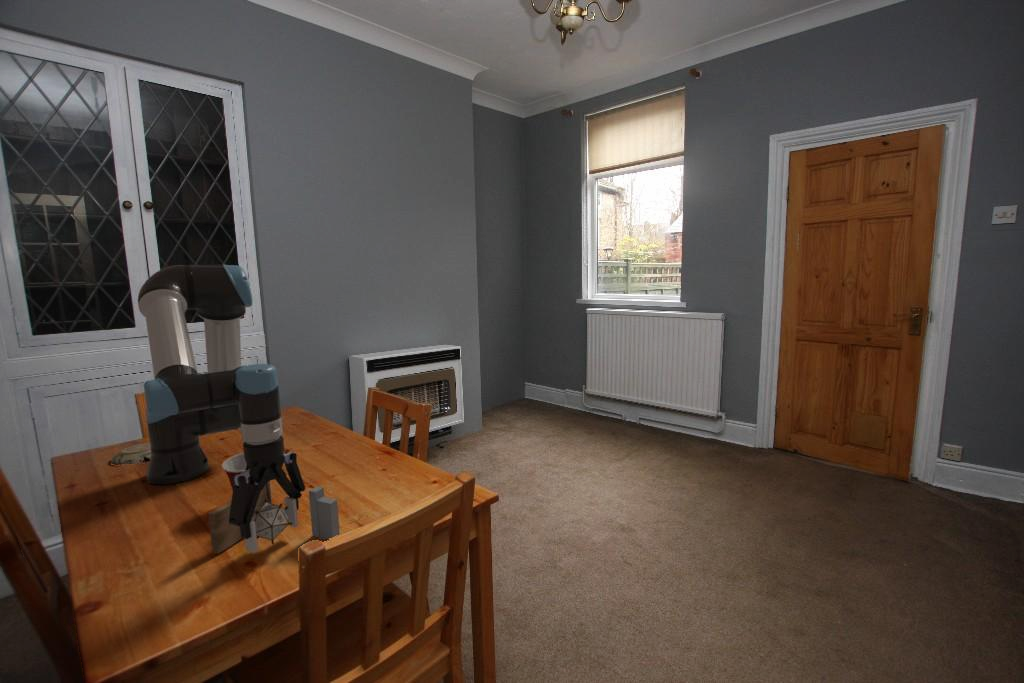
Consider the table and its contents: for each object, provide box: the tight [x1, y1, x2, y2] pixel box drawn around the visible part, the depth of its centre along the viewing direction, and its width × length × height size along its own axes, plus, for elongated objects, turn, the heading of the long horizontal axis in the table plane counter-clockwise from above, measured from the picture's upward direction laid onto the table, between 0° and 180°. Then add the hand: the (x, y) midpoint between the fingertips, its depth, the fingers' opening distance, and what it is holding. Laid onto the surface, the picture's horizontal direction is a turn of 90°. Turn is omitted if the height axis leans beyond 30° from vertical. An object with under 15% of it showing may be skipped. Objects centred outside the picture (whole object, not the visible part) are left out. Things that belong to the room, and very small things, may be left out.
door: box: [207, 480, 273, 555], centre depth 106 cm, size 15×3×9 cm, turn 162°
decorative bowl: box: [110, 442, 151, 465], centre depth 152 cm, size 15×4×15 cm
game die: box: [251, 498, 293, 545], centre depth 100 cm, size 9×8×10 cm
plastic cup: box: [221, 452, 250, 493], centre depth 120 cm, size 11×11×12 cm
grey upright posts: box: [255, 482, 341, 540], centre depth 109 cm, size 25×2×11 cm, turn 66°
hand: (273, 537), depth 101 cm, fingers closed on game die, 9 cm apart
